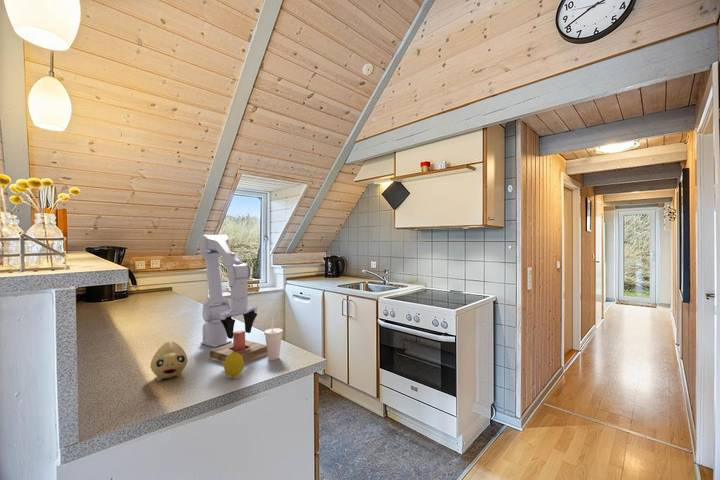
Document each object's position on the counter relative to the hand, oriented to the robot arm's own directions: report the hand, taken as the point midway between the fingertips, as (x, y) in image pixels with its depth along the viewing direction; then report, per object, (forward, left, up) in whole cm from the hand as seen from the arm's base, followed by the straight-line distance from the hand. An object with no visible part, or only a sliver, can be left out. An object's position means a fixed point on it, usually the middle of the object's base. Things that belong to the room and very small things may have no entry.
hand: (239, 335), depth 117 cm
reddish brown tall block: (0, 0, -7) cm, 7 cm away
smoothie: (+12, +5, -8) cm, 15 cm away
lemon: (+14, -13, -8) cm, 21 cm away
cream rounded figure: (-3, -23, -8) cm, 24 cm away
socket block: (0, 0, -8) cm, 8 cm away
